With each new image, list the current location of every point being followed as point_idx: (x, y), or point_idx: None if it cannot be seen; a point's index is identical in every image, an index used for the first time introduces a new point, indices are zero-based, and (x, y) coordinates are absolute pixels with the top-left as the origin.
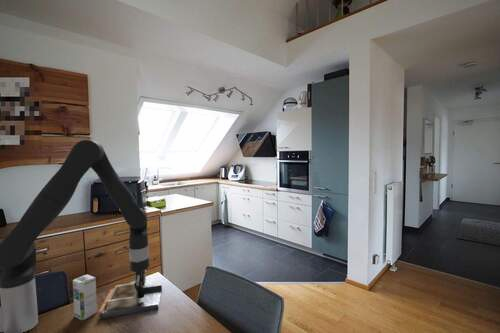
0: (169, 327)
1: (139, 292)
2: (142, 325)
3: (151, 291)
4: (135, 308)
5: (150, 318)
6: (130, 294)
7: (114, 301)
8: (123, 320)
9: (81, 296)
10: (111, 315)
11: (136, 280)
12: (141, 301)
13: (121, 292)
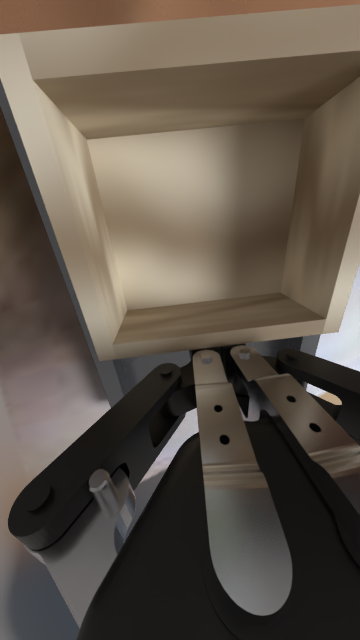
0: (23, 448)
1: (191, 353)
2: (15, 371)
3: (278, 345)
4: (87, 334)
5: (65, 387)
6: (272, 242)
7: (38, 166)
8: (35, 273)
9: None
10: None
11: (159, 493)
12: None
13: (312, 153)
